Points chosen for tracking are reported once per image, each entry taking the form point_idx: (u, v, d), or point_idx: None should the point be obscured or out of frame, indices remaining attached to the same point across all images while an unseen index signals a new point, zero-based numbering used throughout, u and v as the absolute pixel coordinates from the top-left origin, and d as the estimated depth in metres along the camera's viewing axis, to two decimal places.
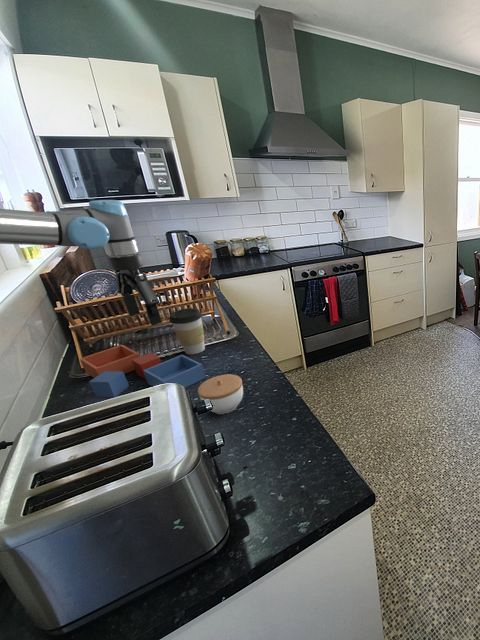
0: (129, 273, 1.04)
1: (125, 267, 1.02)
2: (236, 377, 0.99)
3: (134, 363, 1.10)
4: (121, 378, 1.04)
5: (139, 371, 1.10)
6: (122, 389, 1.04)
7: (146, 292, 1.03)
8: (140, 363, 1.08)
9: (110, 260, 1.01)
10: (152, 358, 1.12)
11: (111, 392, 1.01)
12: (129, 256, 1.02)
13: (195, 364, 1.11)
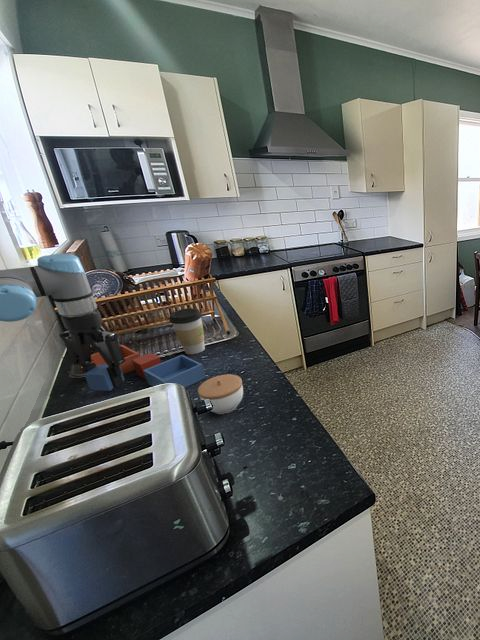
0: (92, 331, 0.94)
1: (90, 325, 0.93)
2: (236, 377, 0.99)
3: (134, 363, 1.10)
4: None
5: (139, 371, 1.10)
6: None
7: (115, 353, 0.98)
8: (140, 363, 1.08)
9: (69, 321, 0.90)
10: (152, 358, 1.12)
11: (106, 385, 0.99)
12: (92, 312, 0.93)
13: (195, 364, 1.11)
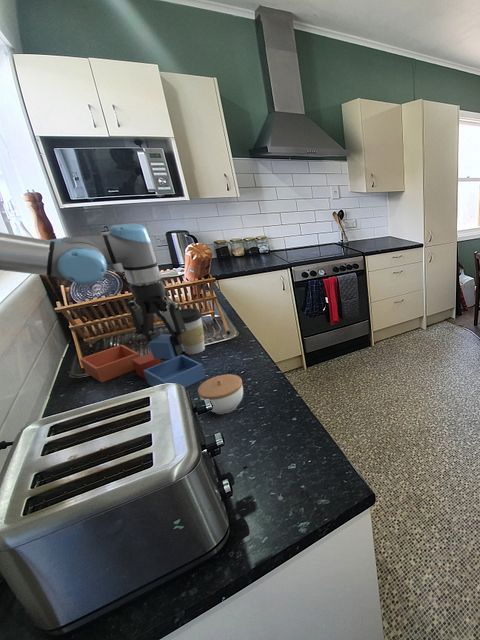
0: (157, 300, 0.97)
1: (156, 294, 0.96)
2: (236, 377, 0.99)
3: (134, 363, 1.10)
4: None
5: (139, 371, 1.10)
6: None
7: (178, 322, 1.01)
8: (140, 363, 1.08)
9: (138, 289, 0.93)
10: (152, 358, 1.12)
11: (169, 353, 1.03)
12: (157, 282, 0.96)
13: (195, 364, 1.11)
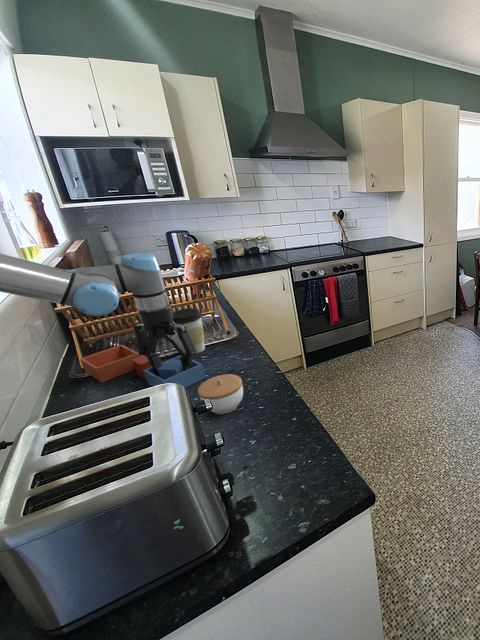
0: (165, 325, 1.01)
1: (164, 319, 0.99)
2: (236, 377, 0.99)
3: (134, 363, 1.10)
4: None
5: (139, 371, 1.10)
6: None
7: (188, 344, 1.04)
8: (140, 363, 1.08)
9: (147, 315, 0.97)
10: None
11: None
12: (165, 308, 1.00)
13: (195, 364, 1.11)
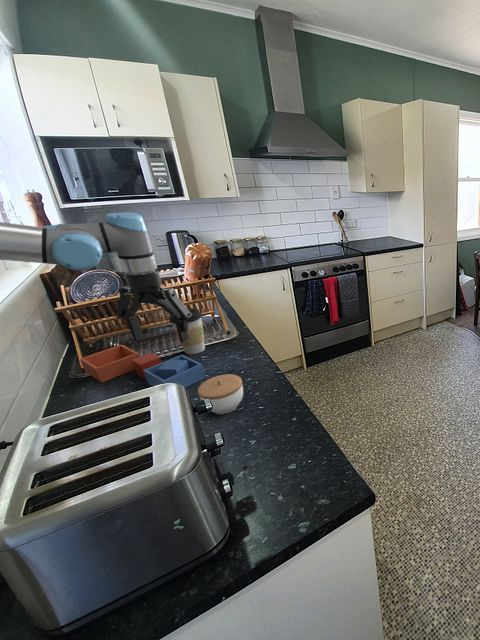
0: (153, 290, 0.96)
1: (151, 284, 0.95)
2: (236, 377, 0.99)
3: (134, 363, 1.10)
4: (185, 366, 1.09)
5: (139, 371, 1.10)
6: None
7: (180, 307, 0.99)
8: (140, 363, 1.08)
9: (133, 278, 0.92)
10: (152, 358, 1.12)
11: None
12: (153, 272, 0.95)
13: (195, 364, 1.11)
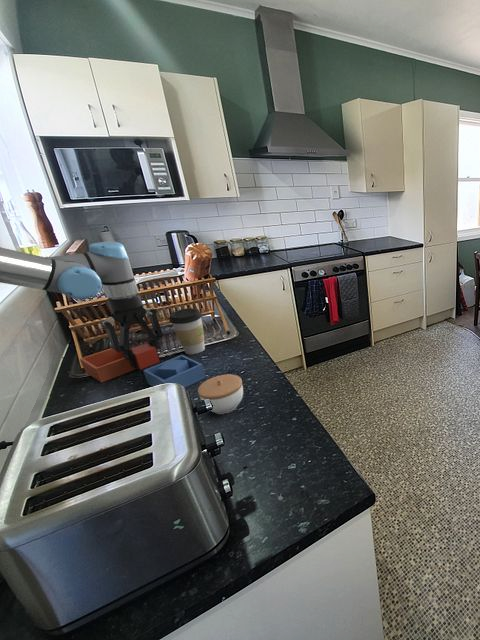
0: (140, 309, 1.06)
1: None
2: (236, 377, 0.99)
3: None
4: (185, 366, 1.09)
5: None
6: None
7: None
8: (136, 353, 1.07)
9: (132, 300, 1.01)
10: (148, 348, 1.10)
11: None
12: None
13: (195, 364, 1.11)
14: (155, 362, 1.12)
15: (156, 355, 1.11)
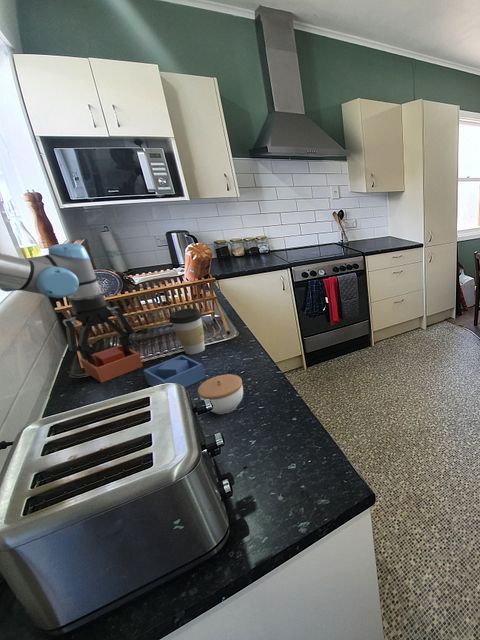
0: (104, 309, 1.08)
1: (105, 303, 1.07)
2: (236, 377, 0.99)
3: (97, 358, 1.11)
4: (185, 366, 1.09)
5: None
6: None
7: None
8: (102, 358, 1.09)
9: (94, 301, 1.03)
10: (115, 353, 1.12)
11: None
12: (99, 293, 1.07)
13: (195, 364, 1.11)
14: None
15: None
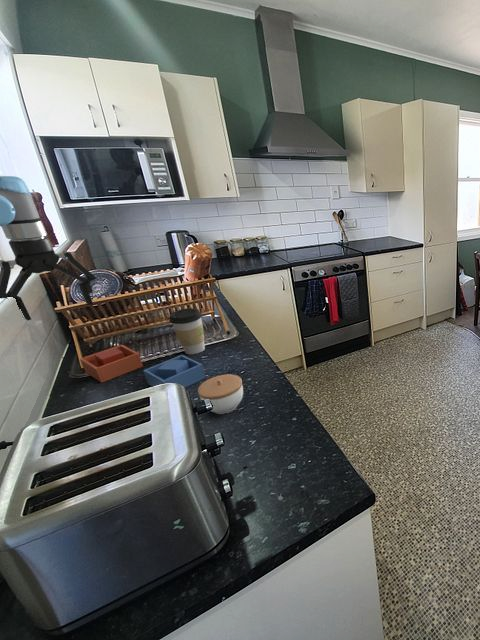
0: (51, 255, 0.96)
1: (52, 248, 0.96)
2: (236, 377, 0.99)
3: (97, 358, 1.11)
4: (185, 366, 1.09)
5: None
6: None
7: (84, 268, 1.04)
8: (102, 358, 1.09)
9: (37, 243, 0.92)
10: (115, 353, 1.12)
11: None
12: None
13: (195, 364, 1.11)
14: None
15: None
